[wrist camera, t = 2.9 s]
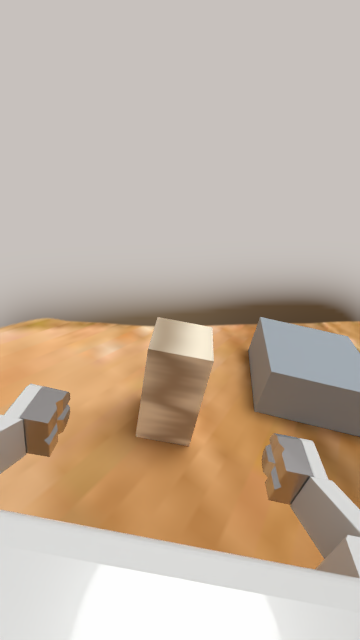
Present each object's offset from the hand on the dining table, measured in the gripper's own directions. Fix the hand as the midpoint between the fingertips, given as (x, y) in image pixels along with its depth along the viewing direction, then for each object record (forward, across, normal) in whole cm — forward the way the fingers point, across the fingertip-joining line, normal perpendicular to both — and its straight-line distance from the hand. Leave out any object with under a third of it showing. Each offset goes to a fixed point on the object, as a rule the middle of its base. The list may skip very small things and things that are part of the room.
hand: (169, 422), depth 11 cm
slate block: (+21, -17, +14) cm, 30 cm away
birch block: (+12, -1, +14) cm, 18 cm away
